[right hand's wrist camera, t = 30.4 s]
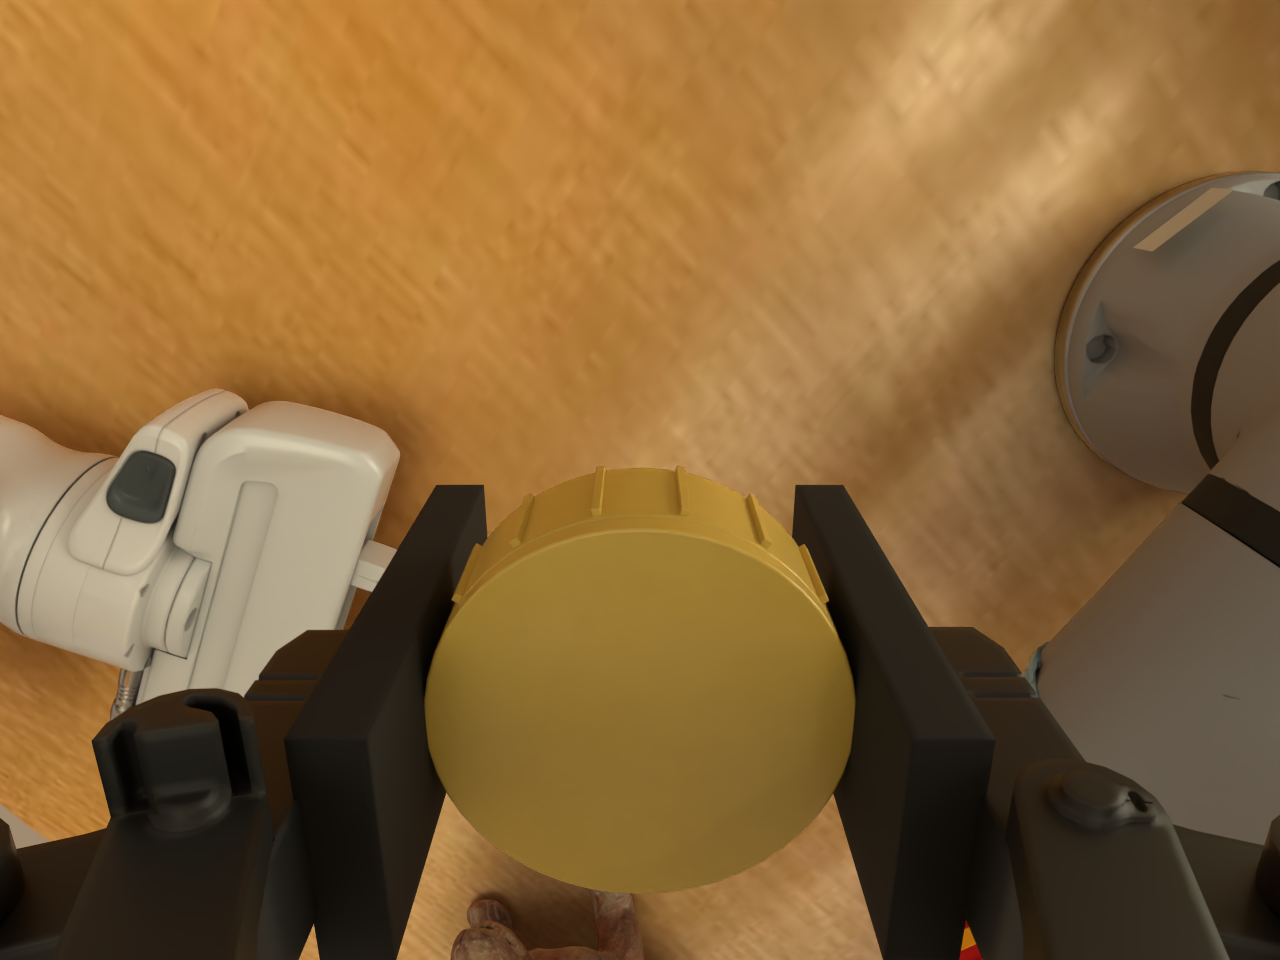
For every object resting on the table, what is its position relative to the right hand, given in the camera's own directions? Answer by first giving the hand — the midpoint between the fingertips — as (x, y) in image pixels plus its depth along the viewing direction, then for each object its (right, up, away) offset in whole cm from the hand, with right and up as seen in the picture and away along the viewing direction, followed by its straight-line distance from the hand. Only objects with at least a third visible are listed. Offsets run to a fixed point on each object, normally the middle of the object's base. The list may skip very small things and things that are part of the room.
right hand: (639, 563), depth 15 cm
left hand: (-10, -8, +28) cm, 31 cm away
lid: (0, -1, -4) cm, 4 cm away
